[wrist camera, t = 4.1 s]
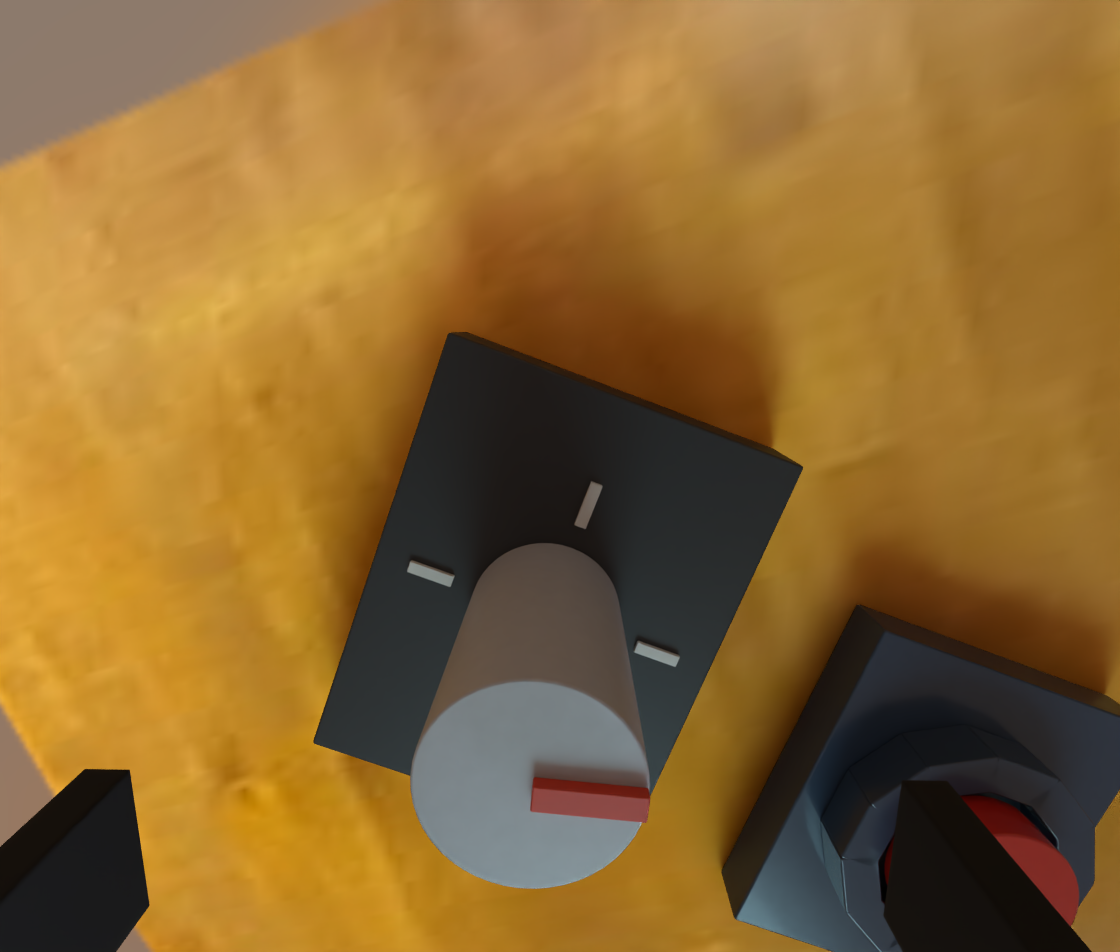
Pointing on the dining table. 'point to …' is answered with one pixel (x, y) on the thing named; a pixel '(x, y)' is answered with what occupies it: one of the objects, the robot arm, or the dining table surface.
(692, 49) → the dining table surface
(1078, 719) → the button housing
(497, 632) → the timer dial
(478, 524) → the control panel
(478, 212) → the dining table surface
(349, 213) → the dining table surface
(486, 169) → the dining table surface
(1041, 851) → the power button
